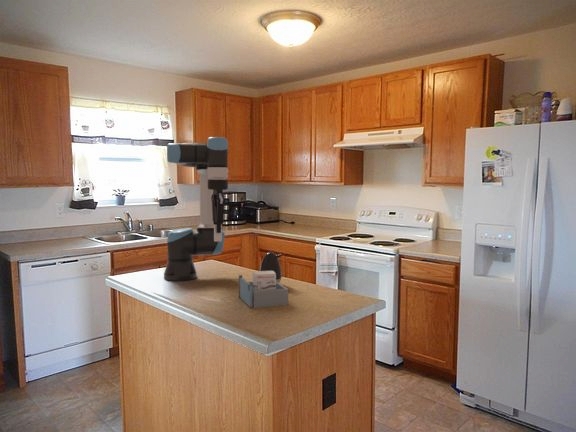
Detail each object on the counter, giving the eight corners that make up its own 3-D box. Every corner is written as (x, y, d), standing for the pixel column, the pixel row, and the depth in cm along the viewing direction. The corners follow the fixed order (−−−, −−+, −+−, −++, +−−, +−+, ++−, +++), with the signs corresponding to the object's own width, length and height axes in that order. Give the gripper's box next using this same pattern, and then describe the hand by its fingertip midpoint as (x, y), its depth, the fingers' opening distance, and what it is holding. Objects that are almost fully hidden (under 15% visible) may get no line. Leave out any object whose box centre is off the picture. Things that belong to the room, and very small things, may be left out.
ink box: (253, 304, 160) (254, 274, 159) (252, 301, 164) (252, 271, 163) (276, 303, 162) (276, 273, 160) (273, 299, 166) (274, 270, 165)
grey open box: (238, 297, 169) (238, 275, 169) (273, 293, 175) (273, 272, 174) (249, 308, 154) (249, 284, 154) (288, 304, 160) (288, 281, 159)
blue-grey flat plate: (239, 297, 168) (239, 277, 167) (242, 297, 168) (242, 277, 167) (249, 307, 155) (249, 285, 155) (252, 306, 156) (252, 285, 155)
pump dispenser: (279, 288, 183) (279, 254, 182) (256, 287, 185) (256, 253, 184) (284, 283, 193) (284, 250, 192) (262, 281, 195) (262, 249, 194)
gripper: (231, 179, 153) (231, 243, 155) (223, 178, 165) (223, 238, 167) (211, 179, 150) (211, 244, 153) (204, 178, 162) (204, 239, 165)
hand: (217, 241), depth 160 cm, fingers closed
